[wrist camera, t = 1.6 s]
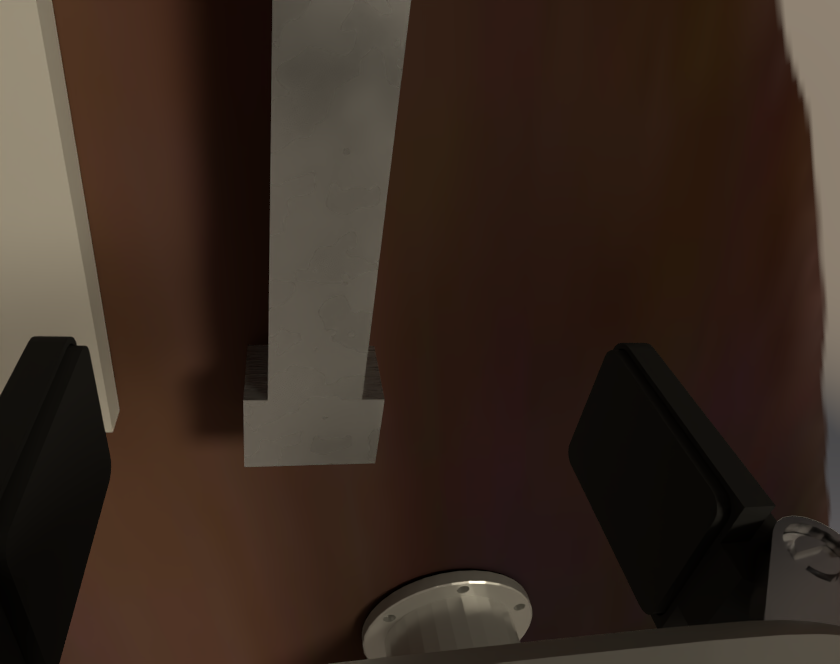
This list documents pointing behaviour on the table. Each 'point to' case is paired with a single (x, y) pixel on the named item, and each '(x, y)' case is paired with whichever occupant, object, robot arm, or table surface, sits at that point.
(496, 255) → the table surface
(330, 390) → the grey upright bar
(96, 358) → the rack
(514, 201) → the table surface
